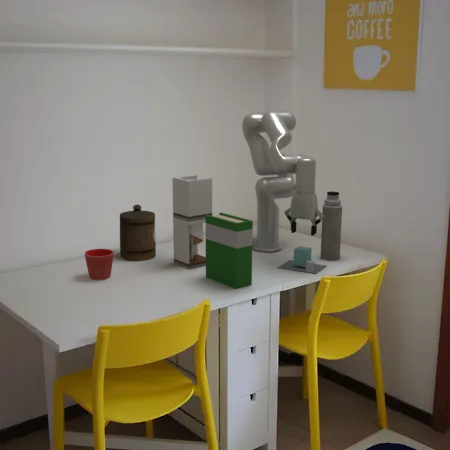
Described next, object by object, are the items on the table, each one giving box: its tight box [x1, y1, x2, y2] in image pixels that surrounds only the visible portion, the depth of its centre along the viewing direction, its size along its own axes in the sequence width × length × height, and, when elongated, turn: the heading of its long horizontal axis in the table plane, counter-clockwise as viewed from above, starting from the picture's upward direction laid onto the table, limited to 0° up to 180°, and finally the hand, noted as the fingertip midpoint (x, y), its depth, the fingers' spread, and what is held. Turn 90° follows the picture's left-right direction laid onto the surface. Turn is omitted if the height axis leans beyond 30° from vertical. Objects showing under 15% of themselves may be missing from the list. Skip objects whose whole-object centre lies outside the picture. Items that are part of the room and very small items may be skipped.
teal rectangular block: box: [293, 245, 313, 267], centre depth 249 cm, size 5×5×7 cm
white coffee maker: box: [172, 174, 213, 270], centre depth 250 cm, size 11×11×35 cm
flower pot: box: [84, 248, 115, 281], centre depth 235 cm, size 11×11×10 cm
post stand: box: [277, 259, 327, 275], centre depth 249 cm, size 16×12×7 cm
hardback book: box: [205, 212, 254, 290], centre depth 230 cm, size 18×7×24 cm, turn 40°
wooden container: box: [119, 204, 157, 262], centre depth 262 cm, size 15×15×22 cm
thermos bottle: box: [320, 191, 343, 262], centre depth 260 cm, size 8×8×28 cm
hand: (303, 233), depth 247 cm, fingers open, 7 cm apart
